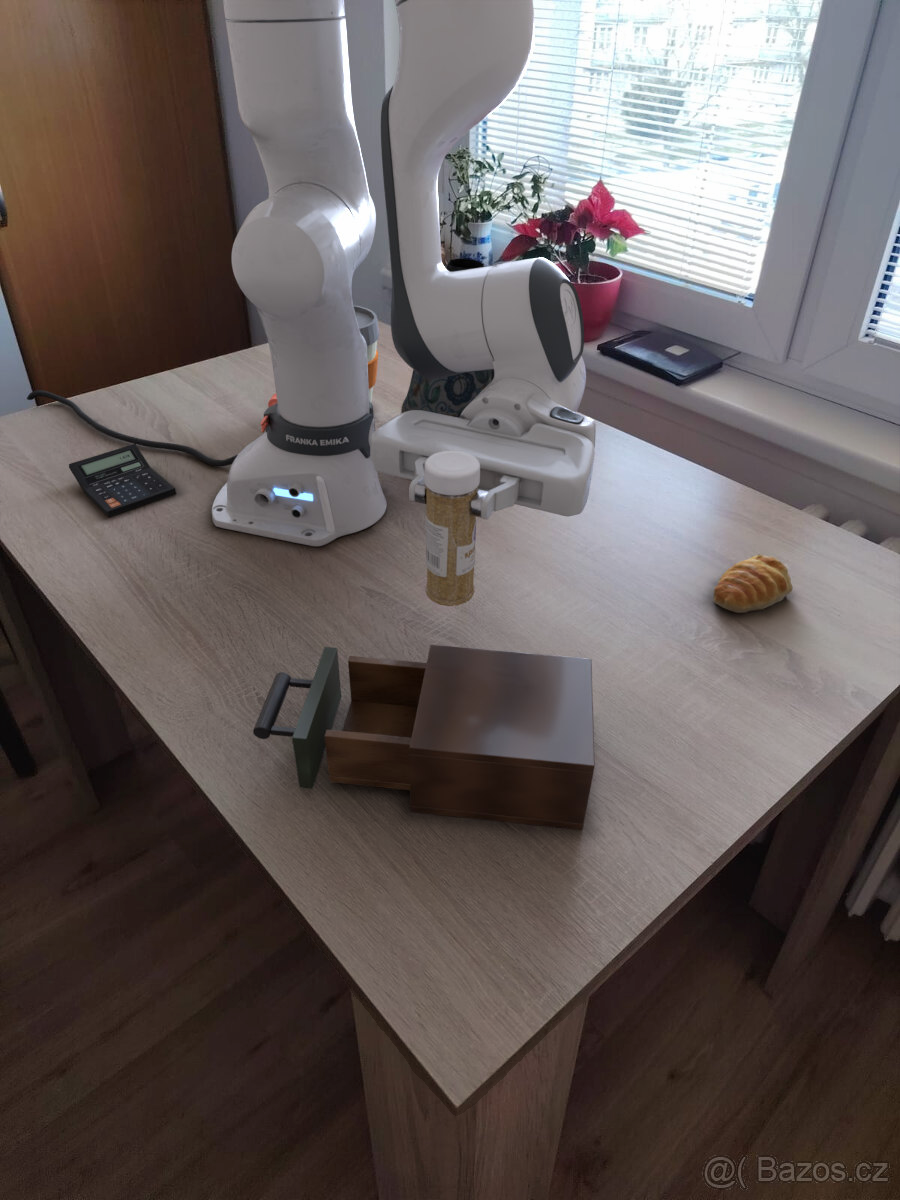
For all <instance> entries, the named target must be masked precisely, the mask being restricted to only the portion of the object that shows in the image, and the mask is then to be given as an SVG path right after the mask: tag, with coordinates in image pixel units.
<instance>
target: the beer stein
mask: <svg viewBox="0 0 900 1200" xmlns="http://www.w3.org/2000/svg"><path fill="white" fill-rule="evenodd" d="M481 267H486V265H485V264H484V263H483V262H481V261H480V260H479V261H478V260H477V259H470V258H454V259H450V260H449V261H448V262H447V264H446V267H445V268H446V269H447V270H448V271H450V272H455V271H462V270H468V269H475V268H481ZM493 379H494V369H491V370H480V371H470V372H464V373H462V374H458V375H453V376H448V377H443V378H438V379H427V378H425V377H423V376H422V375H420V374H419V373H417V372H416V371H415V370H413V369H412V374H411V378H410V383H409V387H408V391H407V393H406V396H405V398H404V400H403V402H402V405H401V411H400V414H401V413H404V412H407V411H411V410H422V411H428V412H433V413H438V414H442V415H447V416H452V417H457V418H459V417H460V415H461V413H462V412H463V410H464V409H465V408H466V407H467V406H468V405H469V404H470V403H471V401H472V400H473V399H474V398H475V397H476V396H477V395H478V394H479V393H480V392H481V391H482V390H483V389H484V388H485V387H486V386H487V385H488V384H489V383H491V382H492V380H493Z"/></svg>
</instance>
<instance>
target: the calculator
mask: <svg viewBox="0 0 900 1200" xmlns="http://www.w3.org/2000/svg"><path fill="white" fill-rule="evenodd" d="M68 468H69V470H70V472H71V473H72V475H73V476H74V478H75V480H76V481H77V483H78V484H79V486H80V488H81V489H82V491H83V492H84V495H85V496H87V497H88V498H89V500H91V501H92V503H94V505H95V506H97V507H98V509H100V510H101V511H102V513H104V514H105V515H106V516H107V517H108V518H111V517H114V516H117V515H119V514H122V513H125V512H128V511H131V510H134V509H137V508H139V507H142V506H145V505H149V504H151V503H154V502H157V501H160V500H163V499H165V498H168V497H171V496H174V495H176V494H177V490H176V487H174V486H173V485H172V484H171V483H170V482H168V481H167V480H166V479H165V478H164V477H163V476H161V475H160V474H159V473H158V472H157V471H156V470H155V469H153V468H152V467H151V465H150V464H149V463H148V461H147V459H146V458H145V456H144V455H143V453H142V452H141V451H140V449H139V447H138V445H137V444H134V443H131V444H129V445H126V446H122V447H120V448H116V449H113V450H109V451H107V452H106V451H105V452H103V453H100V454H97V455H94V456H90V457H87V458H84V459H81V460H77V461H75V462H71V463H68Z"/></svg>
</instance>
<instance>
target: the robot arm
mask: <svg viewBox="0 0 900 1200" xmlns="http://www.w3.org/2000/svg"><path fill="white" fill-rule="evenodd" d="M394 4H395V6H396V14H397V20H398V28H399V29H398V30H399V50H398V51H399V52H398V63H397V68H396V74H395V79H394V83H393V85H392V86H391V87H390V89H389V90H388V91H387V92H386V94H385V95H384V97H383V99H382V104H381V110H380V150H381V151H380V152H381V165H382V166H381V167H382V179H383V190H384V202H385V203H384V204H385V213H386V215H385V216H386V225H387V237H388V247H389V260H390V261H389V262H390V273H391V299H390V300H391V301H390V332H391V338H392V342H393V346H394V348H395V351H396V352H397V354H398V355H399V357H400V358H401V359H402V360H403V361H404V363H406V365H407V366H409V367H410V368H411V369H412V371H413V370H415V371H416V372H417V373H419V374H420V375H422V376H423V377H425V378H427V379H438V378H443V377H448V376H453V375H458V374H462V373H464V372H470V371H480V370H491V369H494V379H493V380H492V382H491V383H489V384H488V385H487V386H486V387H485V388H484V389H483V390H482V391H481V392H480V393H479V394H478V395H477V396H476V397H475V398H474V399H473V400H472V401H471V403H470V404H469V405H468V406H467V407H466V408H465V409H464V410H463V412H462V413H461V415H460V417H459V418H457V417H452V416H447V415H442V414H438V413H433V412H428V411H422V410H411V411H407V412H404V413H401V412H400V413H399V414H397V415H396V416H394V417H392V418H391V419H389V420H387V421H386V422H384V423H383V424H382V425H380V426H379V427H378V428H376V418H375V416H374V415H375V414H374V406H373V403H372V402H370V401H369V383H368V361H367V344H366V341H365V339H364V337H363V336H362V334H361V333H360V330H359V327H358V323H357V319H356V315H355V310H354V306H353V305H354V302H353V301H354V300H353V296H352V295H353V294H352V293H353V292H352V291H353V290H352V285H353V277H354V273H355V271H356V270H357V268H358V267H359V266H360V265H361V264H362V263H363V261H364V260H365V259H366V258H367V256H368V254H369V253H370V250H371V249H372V246H373V242H374V238H375V234H376V224H377V212H376V207H375V203H374V201H373V198H372V196H371V195H370V191H369V185H368V180H367V173H366V168H365V164H364V160H363V156H362V155H363V154H362V151H361V146H360V141H359V137H358V132H357V128H356V123H355V114H354V108H353V98H352V85H351V72H350V63H349V62H350V60H349V48H348V32H347V22H346V21H347V19H346V17H345V16H346V9H345V8H346V7H345V0H222V5H223V13H224V19H225V27H226V33H227V40H228V41H227V42H228V46H229V47H228V48H229V54H230V61H231V68H232V75H233V82H234V86H235V92H236V100H237V109H238V113H239V116H240V119H241V122H242V123H243V125H244V127H245V128H246V129H247V131H248V132H249V133H250V136H251V137H252V139H253V142H254V145H255V147H256V149H257V152H258V156H259V158H260V161H261V164H262V168H263V170H264V173H265V177H266V182H267V187H268V197H267V198H266V199H264V200H262V201H261V202H259V204H256V205H255V206H254V207H253V208H252V209H251V210H250V211H249V213H248V214H247V216H246V217H245V219H244V221H243V222H242V224H241V226H240V228H239V229H238V232H237V234H236V236H235V239H234V241H233V244H232V249H231V267H232V272H233V276H234V278H235V281H236V283H237V285H238V287H239V289H240V290H241V292H242V293H243V295H244V296H245V297H246V298H247V299H248V300H249V302H251V303H252V304H253V305H254V306H255V308H256V311H257V314H258V317H259V319H260V322H261V325H262V328H263V330H264V334H265V337H266V340H267V343H268V346H269V352H270V357H271V358H270V359H271V365H272V370H273V378H274V379H273V380H274V389H275V393H274V394H272V396H271V397H270V399H269V400H268V402H267V408H266V409H265V411H264V413H263V418H262V420H261V421H260V427H261V433H263V434H261V435H260V436H259V437H257V438H256V439H255V440H253V441H251V442H250V443H249V444H247V445H246V446H245V447H244V448H242V450H241V451H239V453H238V454H235V455H233V456H231V457H228V458H225V459H217V458H215V459H214V458H211V457H209V456H207V455H205V454H204V453H202V452H200V451H199V450H197V449H195V448H193V447H190V446H187V445H183V444H178V443H172V442H164V441H163V442H162V441H155V440H150V439H149V440H148V439H143V438H139V437H135V436H131V435H126V434H124V433H120V432H118V431H115V430H113V429H110V428H108V427H105V426H103V425H102V424H100V423H98V422H96V420H94V419H92V418H91V417H90V416H89V415H87V413H85V412H84V411H82V410H81V408H80V407H79V406H78V405H77V404H75V402H73V401H72V400H70V399H68V398H66V397H63V396H61V395H59V394H55V393H52V392H50V391H46V390H41V389H40V390H33V391H31V392H30V393H29V394H28V395H27V397H26V400H28V401H32V400H34V399H35V398H37V397H43V398H47V399H50V400H53V401H56V402H58V403H60V404H63V405H65V406H68V407H69V408H70V409H72V410H73V412H74V413H75V414H76V415H77V417H79V418H80V419H82V420H83V421H84V422H85V423H87V424H88V425H89V426H91V427H92V428H94V429H95V430H97V432H99V433H102V434H105V435H107V436H109V437H111V438H113V439H116V440H118V441H119V440H120V441H124V442H127V443H129V444H136V445H137V446H142V447H148V448H154V449H162V450H170V451H177V452H182V453H185V454H189V455H191V456H193V457H195V458H197V459H198V460H200V461H201V462H203V463H205V464H207V465H209V466H214V467H227V466H230V465H231V466H230V468H229V471H228V476H227V481H226V483H225V484H223V486H222V487H221V489H219V491H218V493H217V494H216V496H215V498H214V500H213V502H212V505H211V506H212V507H211V519H212V522H213V524H214V526H215V527H218V528H221V529H225V530H229V531H236V532H239V533H244V534H251V535H254V536H259V537H265V538H271V539H275V540H280V541H284V542H285V541H286V542H290V543H295V544H299V545H305V546H309V547H316V548H317V547H322V546H325V545H327V544H329V543H331V542H333V541H335V540H336V539H337V538H340V537H343V536H347V535H351V534H354V533H357V532H361V531H362V530H365V529H368V528H369V527H371V526H373V525H374V524H376V523H377V522H378V521H380V519H382V517H383V516H384V514H385V513H386V510H387V505H388V503H387V500H386V497H385V494H384V491H383V489H382V485H381V482H380V478H379V474H378V473H381V474H383V475H390V476H393V477H398V478H401V479H405V480H410V481H411V482H410V483H409V488H408V495H409V496H408V499H409V501H410V502H412V503H413V502H414V503H417V504H422V505H427V504H426V503H427V496H426V491H427V489H426V486H425V482H424V468H425V462H426V460H427V459H428V458H429V457H430V456H431V455H433V454H435V453H438V452H442V451H461V452H465V453H468V454H470V455H472V456H474V457H475V458H476V459H477V460H478V461H479V463H480V482H479V485H478V488H477V492H476V495H474V496H473V497H472V499H471V508H472V509H471V511H470V515H472V516H475V517H476V518H479V519H483V520H489V519H490V517H491V516H492V515H493V513H494V512H498V511H500V510H504V509H508V508H512V507H513V506H514V505H517V506H520V507H525V508H530V509H535V510H538V511H542V512H547V513H551V514H555V515H559V516H561V517H562V516H563V517H567V518H568V517H573V516H577V515H580V514H582V512H583V511H584V509H585V507H586V505H587V503H588V499H589V496H590V491H591V484H592V483H591V482H592V476H593V470H594V461H595V454H596V452H595V450H596V436H597V435H596V433H597V432H596V431H597V430H596V425H597V424H596V421H595V420H594V419H592V418H590V417H588V416H585V415H582V414H580V413H577V411H578V409H579V407H580V404H581V402H582V400H583V396H584V393H585V388H586V382H587V370H586V365H585V361H584V358H583V356H582V355H583V352H584V348H585V324H584V323H585V322H584V315H583V309H582V304H581V300H580V296H579V294H578V291H577V289H576V286H575V285H574V284H573V283H572V281H571V280H570V279H569V278H568V276H566V274H565V273H564V271H562V269H560V268H559V267H558V266H557V265H556V264H555V263H553V262H552V261H550V260H548V259H547V258H545V257H542V256H541V257H540V256H539V257H535V258H527V259H526V258H525V259H521V260H520V259H519V260H513V261H507V262H500V263H495V264H494V265H488V266H485V267H481V268H475V269H468V270H462V271H455V272H450V271H448V270H447V269H446V267H445V266H444V264H443V260H442V244H441V227H440V225H441V224H440V208H439V192H438V190H439V189H438V181H439V174H440V170H441V166H442V164H443V161H444V159H445V158H446V156H447V154H448V153H449V152H450V150H451V149H452V148H453V146H454V145H455V144H456V143H457V142H458V141H459V140H460V139H461V138H463V136H465V135H466V134H467V133H468V132H470V131H471V130H472V129H473V128H475V127H476V126H477V125H479V124H480V123H481V122H483V121H484V120H485V119H487V118H488V117H489V116H490V115H491V114H493V113H494V112H495V111H497V109H498V108H499V107H500V106H502V104H503V103H504V102H506V100H507V99H508V98H509V97H510V96H511V95H512V94H513V92H514V91H515V89H516V88H517V86H518V85H519V84H520V82H521V80H522V79H523V77H524V75H525V73H526V71H527V69H528V67H529V64H530V61H531V58H532V55H533V53H534V49H535V35H536V34H535V33H536V32H535V10H534V9H535V8H534V0H394Z"/></svg>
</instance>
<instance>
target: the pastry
mask: <svg viewBox="0 0 900 1200" xmlns="http://www.w3.org/2000/svg"><path fill="white" fill-rule="evenodd" d="M788 571H789V570H788V568H787V566H786V565H785V564H784V563H783V562H781V560H779V559H777V558H776V557H774V556H770V555H767V556H766V555H763V554H757V555H753V556H751V557H750V558H747V559H744V560H741V561H738V562H737V563H735V564H733V566H731V567H730V568H727V570H726V571H725V572H724V573H723V574H722V575H721V577H720V578H719V580H718V583H717V585H716V586H715V587H714V589H713V602H714V604H716V605H718V606H720V607H721V608H723V609H725V610H728V611H730V612H733V613H739V614H741V613H742V614H743V613H745V614H746V613H748V612H752V611H761V610H765V608H769V607H770V606H773V605H775V604H776V603H779V602H781V601H783V600H784V598H785V597H787V596H788V595H789V594H790V593H792V592H793V588H794V587H793V584H792V582H791V581H792V580H791V579H792V578H791V576H790V575H789V572H788Z"/></svg>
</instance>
